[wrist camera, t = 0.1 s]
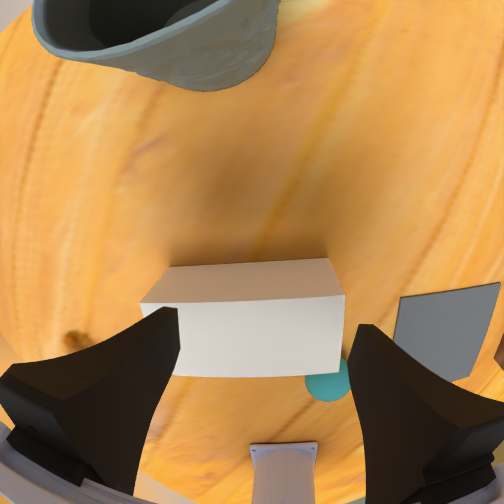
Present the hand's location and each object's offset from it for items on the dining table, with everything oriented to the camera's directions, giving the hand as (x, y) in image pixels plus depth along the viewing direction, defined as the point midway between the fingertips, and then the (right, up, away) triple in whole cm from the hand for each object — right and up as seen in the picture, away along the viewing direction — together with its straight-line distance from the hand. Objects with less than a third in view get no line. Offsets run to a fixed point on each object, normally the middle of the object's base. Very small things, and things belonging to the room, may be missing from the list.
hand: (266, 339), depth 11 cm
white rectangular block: (-1, 0, +11) cm, 11 cm away
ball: (+6, -7, +10) cm, 14 cm away
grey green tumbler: (-3, +18, +5) cm, 19 cm away
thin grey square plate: (+18, -6, +11) cm, 22 cm away
